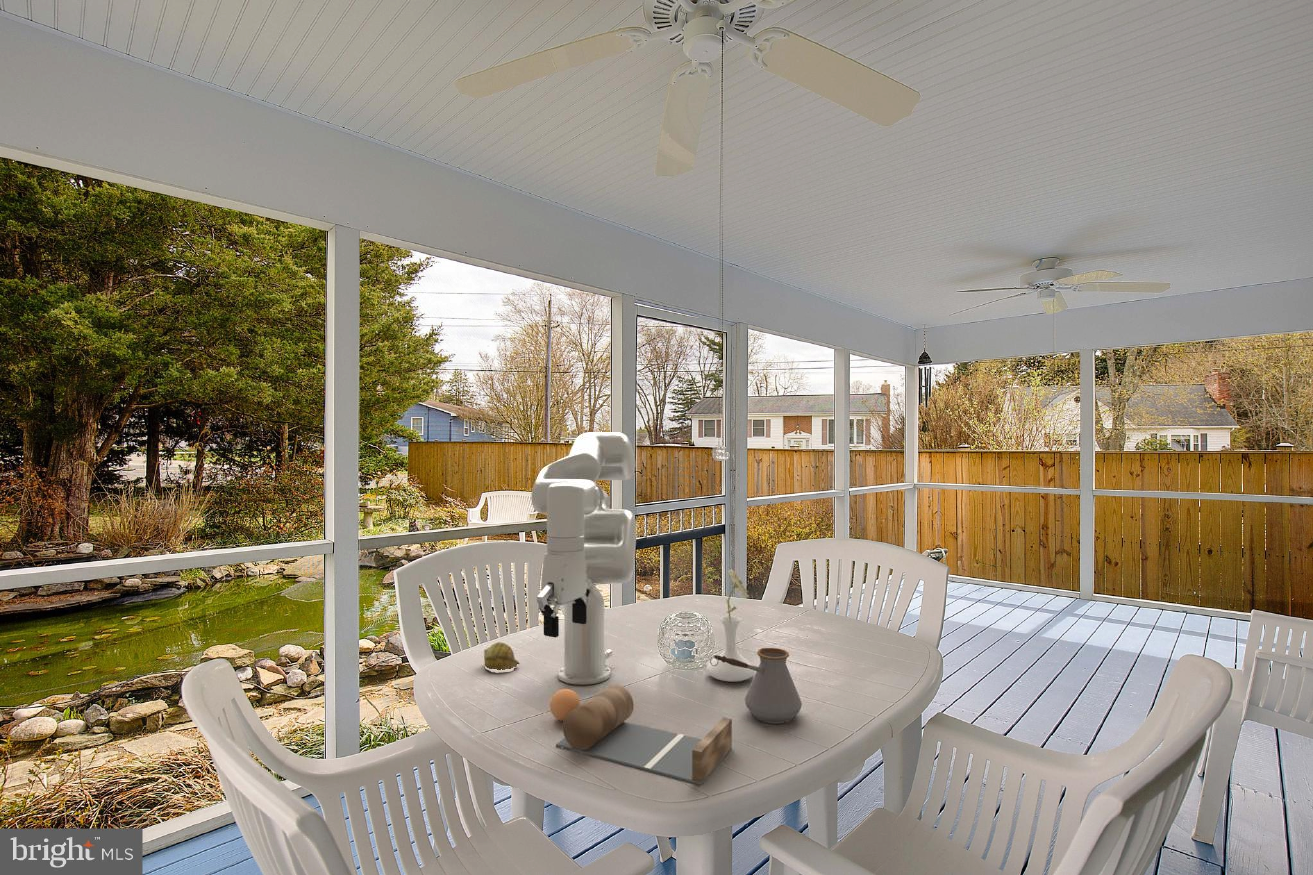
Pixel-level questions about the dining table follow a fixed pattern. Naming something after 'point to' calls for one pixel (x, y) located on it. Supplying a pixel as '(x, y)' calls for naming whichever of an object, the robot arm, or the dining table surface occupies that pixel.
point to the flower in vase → (731, 644)
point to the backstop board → (711, 749)
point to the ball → (563, 703)
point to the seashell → (499, 657)
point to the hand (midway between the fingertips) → (565, 629)
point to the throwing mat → (646, 750)
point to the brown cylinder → (597, 717)
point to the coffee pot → (770, 687)
